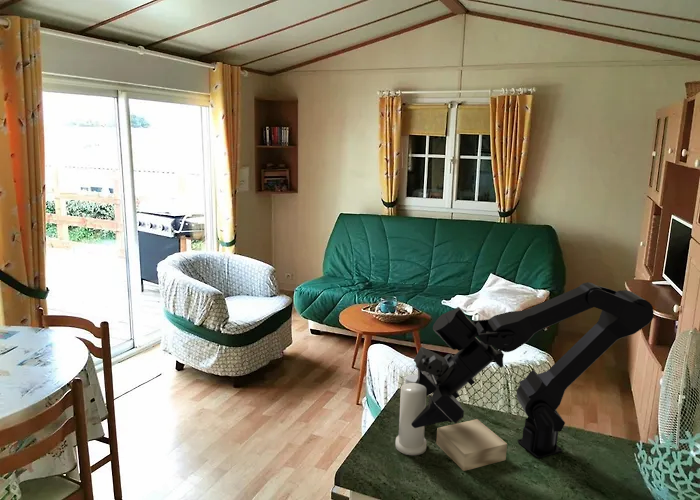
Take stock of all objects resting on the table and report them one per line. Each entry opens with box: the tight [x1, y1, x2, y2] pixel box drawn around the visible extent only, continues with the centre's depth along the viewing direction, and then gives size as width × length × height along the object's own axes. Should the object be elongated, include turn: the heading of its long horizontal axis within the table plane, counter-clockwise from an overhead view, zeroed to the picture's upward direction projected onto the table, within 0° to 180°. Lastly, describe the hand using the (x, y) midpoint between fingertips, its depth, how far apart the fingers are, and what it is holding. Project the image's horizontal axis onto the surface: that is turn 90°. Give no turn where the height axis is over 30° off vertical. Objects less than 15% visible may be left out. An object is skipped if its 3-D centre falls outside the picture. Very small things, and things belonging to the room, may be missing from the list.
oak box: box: [435, 418, 508, 472], centre depth 110 cm, size 10×10×4 cm
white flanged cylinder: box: [395, 383, 428, 456], centre depth 111 cm, size 6×6×13 cm
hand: (409, 414), depth 110 cm, fingers open, 9 cm apart
